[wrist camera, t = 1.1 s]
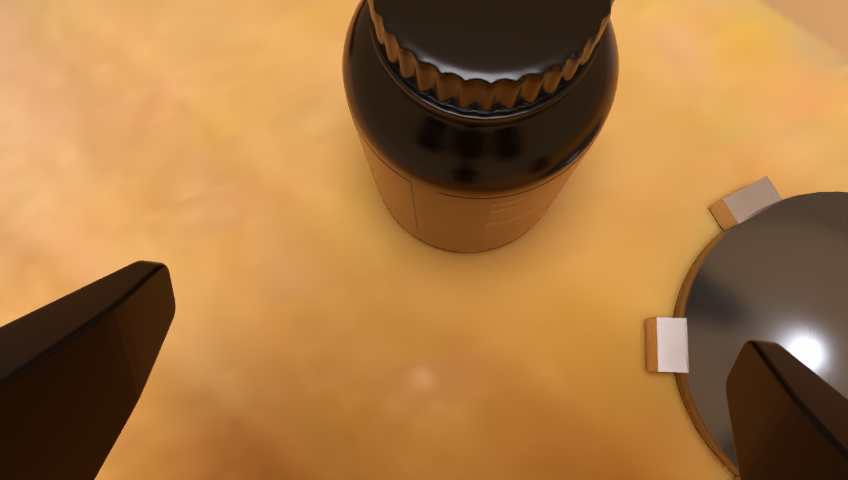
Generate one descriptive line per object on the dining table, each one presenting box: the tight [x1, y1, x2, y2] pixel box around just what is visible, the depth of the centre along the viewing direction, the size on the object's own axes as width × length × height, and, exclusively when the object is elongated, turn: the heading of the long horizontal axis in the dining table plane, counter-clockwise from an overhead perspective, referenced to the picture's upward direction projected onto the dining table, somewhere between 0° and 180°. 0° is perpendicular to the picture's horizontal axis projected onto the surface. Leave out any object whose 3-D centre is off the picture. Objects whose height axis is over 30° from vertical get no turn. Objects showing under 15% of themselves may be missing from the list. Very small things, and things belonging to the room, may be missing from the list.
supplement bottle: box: [342, 0, 619, 252], centre depth 17 cm, size 7×7×12 cm
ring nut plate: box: [645, 176, 848, 480], centre depth 21 cm, size 13×12×1 cm
